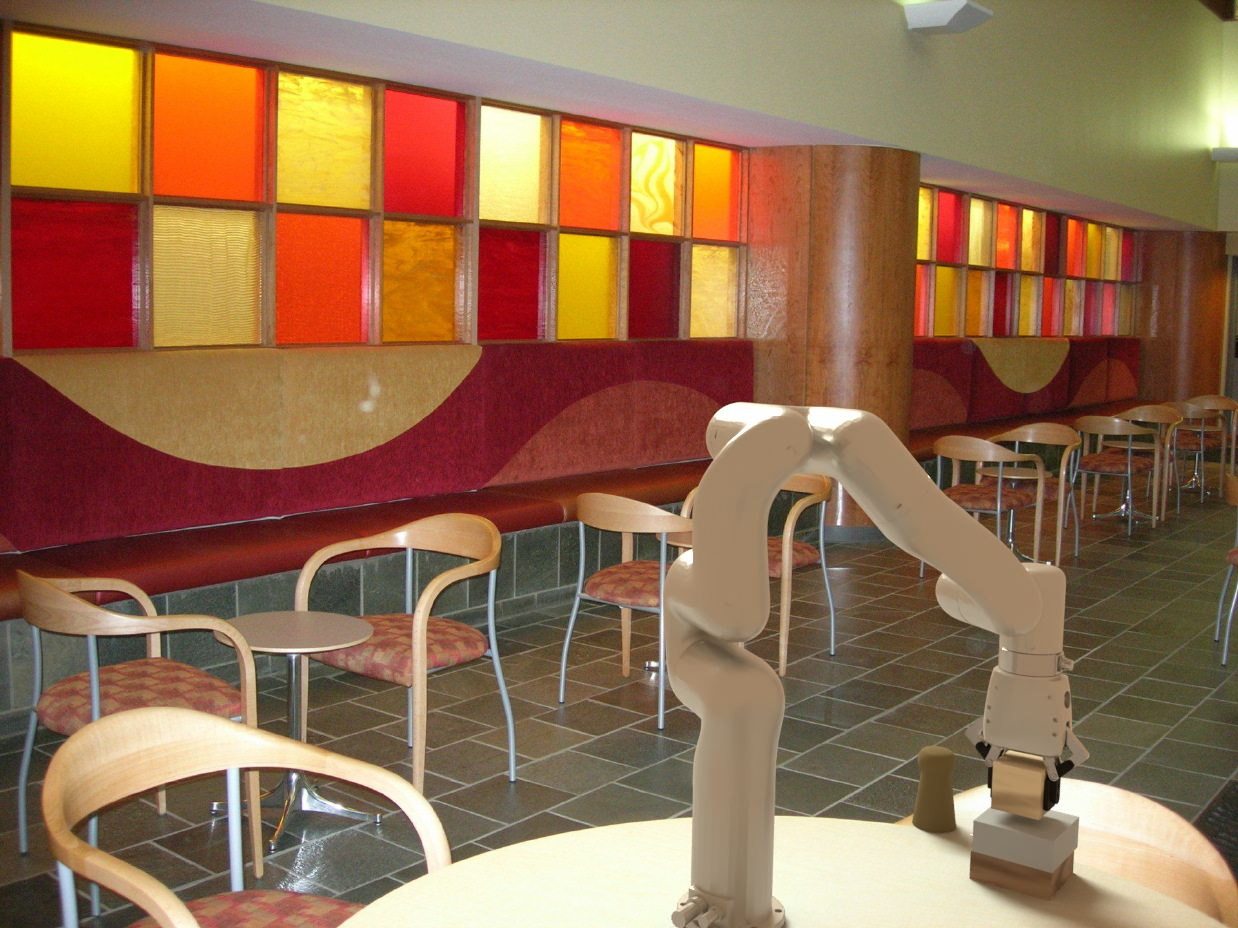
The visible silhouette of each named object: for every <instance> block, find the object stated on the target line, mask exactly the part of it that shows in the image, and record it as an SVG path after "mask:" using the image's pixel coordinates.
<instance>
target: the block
mask: <svg viewBox="0 0 1238 928" xmlns="http://www.w3.org/2000/svg"><path fill="white" fill-rule="evenodd" d="M1047 774H1048V773H1047V770H1046V767H1045V764H1044V761H1043V758H1042V757H1041V756H1036V755H1032V754H1027V753H1022V752H1017V751H1013V750H1007V751H1006V752H1004V754H1003V755H1002V756H1001V757H999V758H998V759H997V760H996V761H994V762H993V777H992V797H990V799H991V800H990V801H991V802H990V807H991V809H995V810H999V811H1004V812H1008V813H1012V814H1016V815H1020V816H1024V817H1028V818H1032V819H1036V820H1040V819H1041V818H1042V817H1043V816H1044V815H1045V814H1046V813H1047V812H1048V811H1045V810H1044V809H1043V800H1044V782H1045V780H1046V779H1047Z"/></svg>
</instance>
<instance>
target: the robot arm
mask: <svg viewBox="0 0 1238 928" xmlns="http://www.w3.org/2000/svg"><path fill="white" fill-rule="evenodd" d="M705 444H706V447H707V451H708V452H709V455H710V457H711V458H712V461H711V463H710V465H709V466H708V467H707V469H706V471H705V472H704V474H703V476H702V478H701V479H700V482H699V484H698V487H697V489H696V492H695V496H694V499H693V505H692V517H691V518H692V519H691V521H692V522H691V525H692V526H691V529H692V530H691V533H692V537H691V545H692V546H691V549H689V550H688V549H687V551H685V552H683V553H682V554H681V555H679V556H678V557H677V558H676V559H674V561H673V563H672V564H671V565H670V568H669V569H668V571H667V574H666V577H665V581H664V585H663V592H662V594H663V595H662V598H663V599H662V604H663V605H662V606H663V627H664V641H665V642H664V643H665V644H664V645H665V658H666V661H665V662H666V668H667V669H666V670H667V675H668V681H669V685H670V687H671V689H672V692H673V693H674V695H675V696H676V698H677V699H678V701H680V703H682V704H683V705H684V706H685V707H686V708H687V709H689V710H690V711H692V712H693V713H694V714H696V716H697V717H698V718H699V719H700V724H701V725H700V733H699V736H698V740H697V744H696V747H695V751H694V756H693V765H692V812H691V813H692V815H691V817H692V821H691V825H692V827H691V859H690V860H691V861H690V863H691V864H690V886H688V891H687V892H686V893H684V894H683V895H682V896H681V897H679V899H678V901H677V903H676V910H675V911H673V912H672V914H671V916H670V917H671V918H670V919H671V921H672V925H674V926H675V927H676V928H783V927H784V926H785V921H786V910H785V907H784V905H783V904H782V902H781V901H780V900H779V899H777V897H775V896H773V883H774V882H773V881H774V880H773V878H774V849H775V848H774V847H775V819H776V818H775V815H776V813H775V812H776V773H777V772H776V771H777V757H778V747H779V741H780V735H781V730H782V727H783V726H782V725H783V720H784V717H785V709H786V696H785V690H784V686H783V684H782V681H781V679H780V677H779V676H778V674H777V673H776V671H775V669H773V667H772V666H771V665H770V664H769V663H768V662H766V660H764V659H762V658H761V657H760V656H758V655H756V654H754V653H752V652H751V651H750V650H748V649H746V648H744V647H741V646H740V643H745V642H749V641H751V640H752V639H753V640H754V639H755V638H756V637H757V636H758V635H760V634H761V633H762V631H763V630H764V629H765V627H766V625H767V623H768V621H769V617H770V612H771V591H770V590H771V589H770V574H769V573H770V572H769V570H770V569H769V554H768V552H769V551H768V524H769V523H768V521H769V514H770V510H771V508H772V505H773V502H774V500H775V498H776V497H777V495H778V493H779V492H780V491H781V489H783V487H784V486H785V485H786V484H787V483H788V482H789V481H790V480H791V479H792V478H793V477H794V476H796V475H818V476H819V475H820V476H822V477H823V476H824V477H829V478H834V479H835V481H837V482H839V484H840V485H841V486H842V487H843V489H844V490H845V491H846V492H847V493H848V494H849V495H850V497H851V498H852V499H853V500H854V502H856V504H857V505H858V506H859V507H860V508H861V509H862V510H863V512H864V513H865V514H866V515H867V516H868V517H869V518H870V520H871V521H872V522H873V524H874V525H876V527H877V528H878V530H879V531H881V533H882V534H883V535H884V536H885V538H887V539H888V540H889V541H890V542H891V543H893V544H894V545H895V546H896V547H898V548H900V549H901V550H903V551H904V552H905V553H906V554H909V555H911V556H912V557H915V558H916V559H919V560H920V561H921V562H924V563H926V564H928V565H929V566H931V567H933V568H934V569H936V570H937V571H939V573H941V574H940V575H939V577H938V579H937V582H936V585H935V597H936V600H937V603H938V604H939V606H940V607H941V609H942V610H943V611H944V612H945V614H948V615H949V616H950V617H951V618H954V619H956V620H958V621H960V622H963V623H966V624H969V625H971V626H974V627H977V628H981V629H983V630H986V631H989V632H991V633H994V634H996V635H999V638H998V639H999V642H998V643H999V644H998V645H999V646H998V661H997V662H998V664H997V665H996V666H995V667H993V668H992V672H991V674H990V675H991V676H990V679H989V683H988V687H987V693H986V697H985V704H984V712H983V716H982V717H980V718H979V719H978V720H976V721H975V722H974V723H973V724H972V725H970V726H969V727H968V728H965V730H964V734H965V736H966V738H967V739H968V740H969V741H970V743H971V744H972V745H974V747H975V750H976V751H977V752H978V754H980V756H981V757H982V758H983V761H984V763H985V765H986V767H987V768H988V769H987V785H986V786H987V789H990V792H989V797H990V798H991V797H992V777H993V762H994V761H996V760H997V759H998V758H999V757H1001V756H1002V755H1003V754H1005V753H1006V752H1005V751H1006V750H1007V751H1009V750H1010V751H1015V752H1020V753H1025V754H1029V755H1034V756H1039V757H1042V758H1043V761H1044V764H1045V767H1046V770H1047V773H1048V774H1047V779H1046V780H1045V782H1044V800H1043V809H1044V810H1045V811H1049V810H1052V809H1053V808H1054V807H1055V806H1056V805H1058V803H1059V802H1060V797H1061V781H1062V780H1061V779H1062V777H1063V776H1064V775H1066V774H1068V773H1069V772H1071V771H1072V770H1073V769H1075V768H1076V767H1078V766H1079V765H1081V764H1082V763H1084V762H1086V760H1088V759H1089V758H1090V752H1089V751H1088V749H1086V747H1085V746H1084V744H1083V743H1082V742H1081V741H1080V740H1079V739H1078V737H1077V736H1076V735H1075V733H1074V732H1073V713H1072V712H1073V711H1072V709H1073V707H1072V696H1071V687H1070V680H1069V676H1068V675H1067V674H1064V673H1062V672H1064V671H1070V672H1071V671H1072V672H1073V670H1074V667H1075V666H1074V665H1075V661H1074V660H1073V659H1069V658H1068V657H1066V655H1065V651H1064V650H1063V648H1064V647H1063V646H1064V644H1063V643H1064V627H1065V626H1064V625H1065V610H1066V592H1067V591H1066V589H1067V578H1066V577H1067V576H1066V574H1065V572H1064V571H1063V570H1062V569H1061V568H1059V567H1057V566H1055V565H1051V564H1047V563H1040V562H1021V561H1020V560H1019V558H1017V556H1016V555H1015V554H1014V553H1013V551H1012V550H1011V549H1010V548H1009V547H1008V546H1007V545H1006V544H1005V543H1004V542H1003V541H1002V540H1001V539H999V538H998V537H997V536H996V535H995V534H994V533H993V532H991V530H989V529H988V528H986V527H985V526H984V524H982V523H981V522H979V521H978V520H976V519H975V518H974V517H973V516H972V515H971V514H969V513H968V512H967V511H966V510H965V509H964V508H962V507H961V506H960V505H959V504H958V503H956V502H955V501H953V500H952V499H951V498H949V497H948V495H946V494H945V493H944V492H943V491H942V490H941V489H940V488H939V486H938V485H937V484H936V483H935V482H934V480H933V479H932V478H931V477H930V476H929V475H928V473H927V472H926V471H925V469H924V468H923V467H922V466H921V465H920V464H919V462H918V460H916V459H915V457H914V456H913V455H912V454H911V452H910V451H909V450H908V449H907V448H906V446H905V445H904V444H903V442H902V441H901V440H900V439H899V437H898V436H897V435H896V433H894V431H892V429H891V428H890V427H889V426H888V424H887V423H886V422H884V420H883V419H881V417H878V416H877V415H876V414H874V413H872V412H869V411H866V410H864V409H863V410H862V409H856V408H855V409H854V408H845V407H844V408H843V407H833V406H803V405H802V406H801V405H800V406H799V405H798V406H797V405H784V404H783V405H781V404H769V403H758V402H756V403H755V402H746V401H745V402H744V401H743V402H742V401H739V402H738V401H736V402H734V403H730V404H728V405H727V404H726V405H725V406H722V408H720V409H719V410H717V412H715V414H714V415H713V416H712V417H711V419H710V421H709V422H708V425H707V428H706V433H705ZM1066 750H1070V752H1072V756H1070V757H1068V758H1067V759H1066V760H1064V761H1063V760H1062V758H1061V756H1062V753H1063V751H1066Z"/></svg>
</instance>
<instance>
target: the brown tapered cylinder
mask: <svg viewBox="0 0 1238 928" xmlns="http://www.w3.org/2000/svg"><path fill="white" fill-rule="evenodd" d="M917 755H918V756H917V765H918V767H919V768H920V777H919V781H918V785H917V786H918V787H917V792H916V797H915V803H914V808H913V809H914V810H913V815H912V819H911V823H912V826H914V827H915V828H917V829H919V830H921V831H924V832H929V833H937V834H938V833H939V834H944V833H945V834H946V833H950V832H954V830H956V829H957V824H956V823H957V821H956V811H955V799H954V788H953V777H952V773H954V771H955V768H956V764H957V759H956V756H955V753H954V752H953V751H952V750H951V749H949V748H947V747H944V746H938V745H927V746H925V747H922V748H921V749H920V751H918V754H917Z"/></svg>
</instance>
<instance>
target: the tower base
mask: <svg viewBox="0 0 1238 928" xmlns="http://www.w3.org/2000/svg"><path fill="white" fill-rule="evenodd" d="M1074 862H1075V850H1074V851H1073V852H1072V853H1071V854H1070V855H1069V856H1068V857H1067V858H1066V859H1065V861H1064V862H1063V863H1062V864H1061V865H1060V866H1059V867H1058V868H1057V869H1056V870H1055V871H1054V872H1053V873H1050V872H1046V871H1042V870H1039V869H1035V868H1032V867H1028V866H1024V865H1021V864H1017V863H1014V862H1010V861H1006V860H1003V859H999V858H995V857H992V856H988V855H985V854H981V853H977V852H974V851H972V849H971V850H970V860H969V879H970V880H974V881H977V882H981V883H984V884H987V885H988V884H989V885H991V886H995V887H999V888H1002V889H1006V890H1010V891H1013V892H1017V893H1021V894H1024V895H1028V896H1032V897H1035V898H1039V899H1041V900H1045V899H1046V900H1045V901H1051V900H1052V899H1053V898H1054V896H1055V895H1056V894H1057V893H1058V892H1059V890H1060V889H1061V886H1062V887H1063V885H1064V884H1065V883H1066V882H1067V881H1068V879H1069V878H1070V877H1071V876H1072V875H1073V873H1074V864H1075V863H1074ZM1057 891H1058V892H1057ZM1056 892H1057V893H1056ZM1052 897H1053V898H1052Z"/></svg>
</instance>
